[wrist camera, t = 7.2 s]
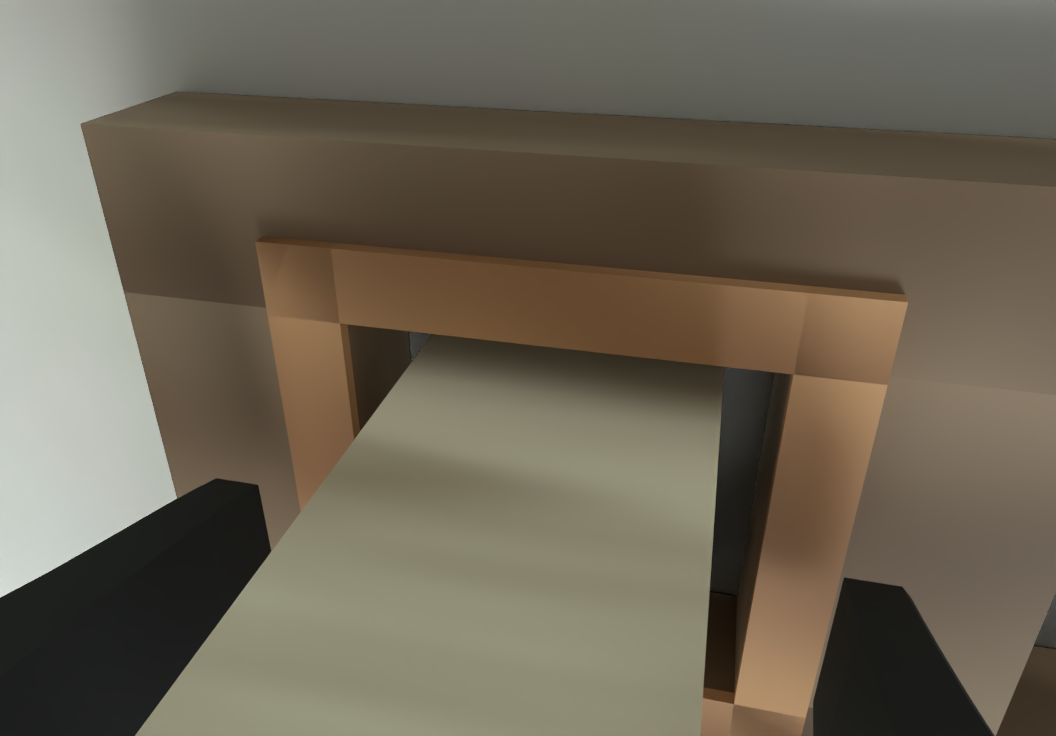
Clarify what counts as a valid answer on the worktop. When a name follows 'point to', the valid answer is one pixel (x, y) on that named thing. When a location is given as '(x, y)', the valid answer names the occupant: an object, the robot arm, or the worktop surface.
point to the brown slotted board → (637, 333)
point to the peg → (486, 562)
